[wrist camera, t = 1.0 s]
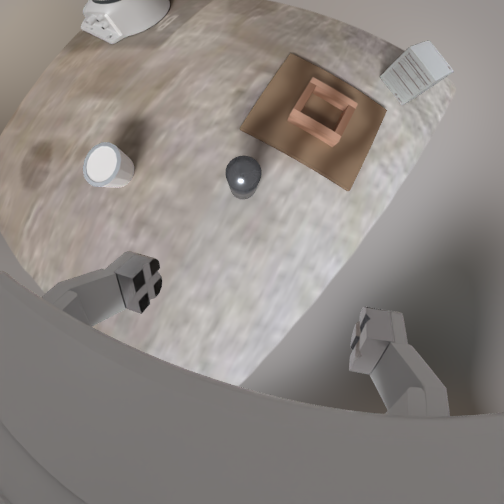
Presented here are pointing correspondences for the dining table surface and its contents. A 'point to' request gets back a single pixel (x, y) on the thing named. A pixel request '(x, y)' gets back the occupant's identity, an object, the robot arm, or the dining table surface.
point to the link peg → (243, 176)
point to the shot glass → (107, 166)
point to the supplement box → (416, 71)
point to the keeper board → (316, 120)
